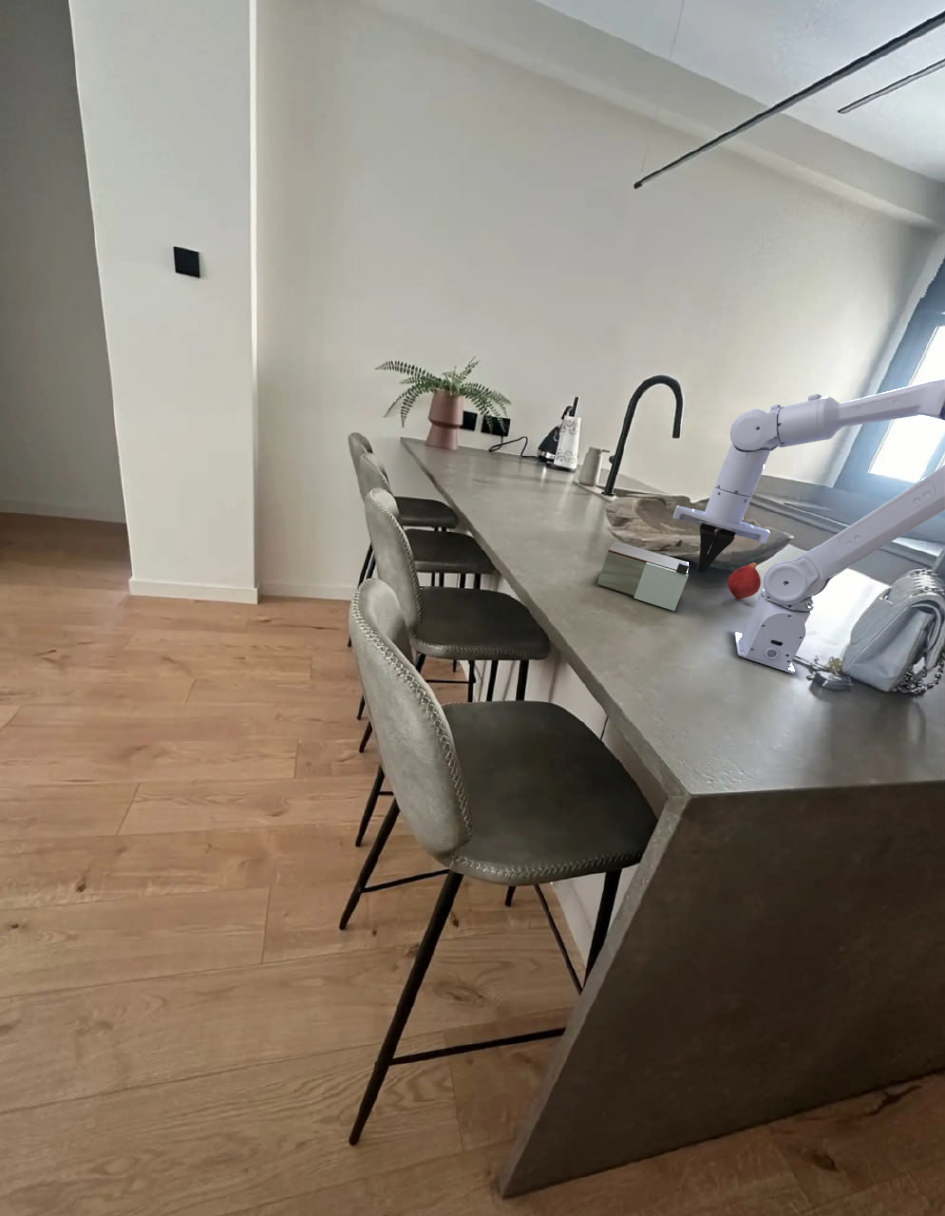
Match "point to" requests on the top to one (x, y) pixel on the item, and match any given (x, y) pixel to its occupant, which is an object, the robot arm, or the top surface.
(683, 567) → the sliding door
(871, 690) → the top surface
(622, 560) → the cabinet
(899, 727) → the top surface
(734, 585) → the onion
